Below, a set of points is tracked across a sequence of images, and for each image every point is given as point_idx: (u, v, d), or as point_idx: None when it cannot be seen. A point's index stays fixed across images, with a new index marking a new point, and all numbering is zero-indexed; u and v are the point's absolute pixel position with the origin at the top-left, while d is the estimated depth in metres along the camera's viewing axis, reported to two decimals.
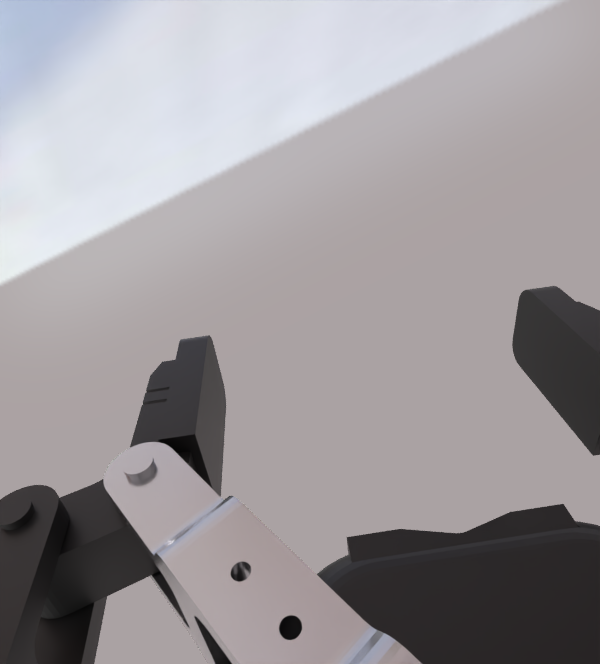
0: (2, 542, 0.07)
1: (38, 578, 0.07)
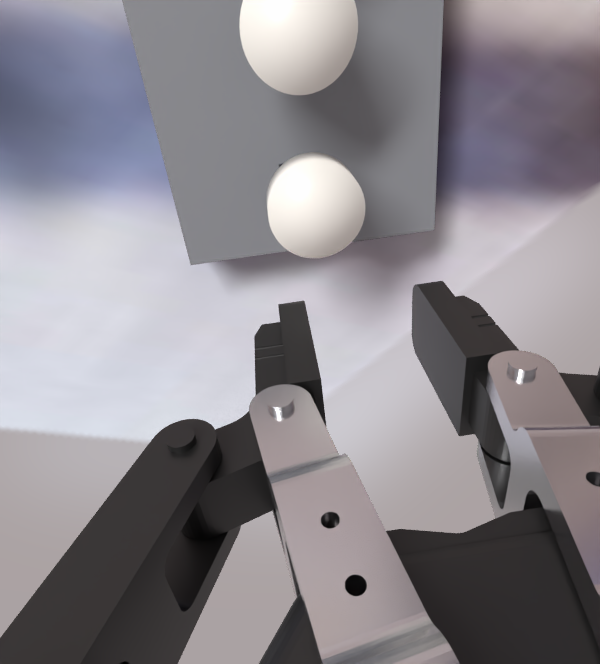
0: (176, 463, 0.08)
1: (183, 504, 0.07)
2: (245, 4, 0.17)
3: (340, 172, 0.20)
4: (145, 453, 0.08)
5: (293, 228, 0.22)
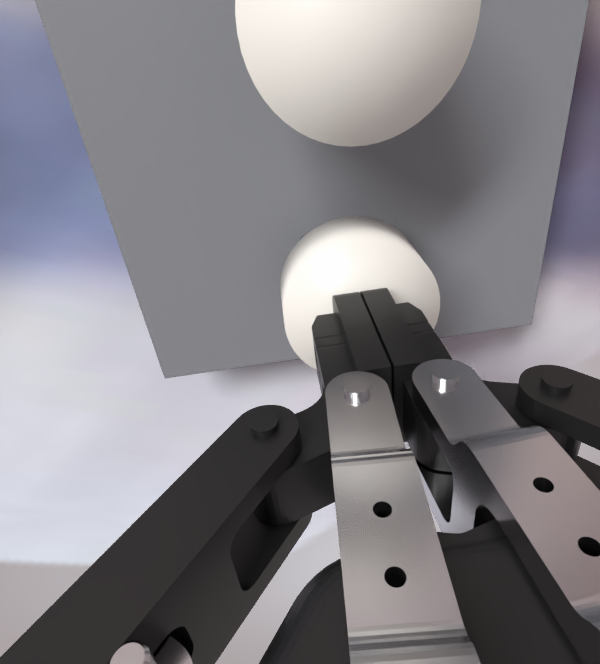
0: (262, 447, 0.08)
1: (256, 488, 0.07)
2: None
3: (404, 256, 0.12)
4: (228, 431, 0.09)
5: None
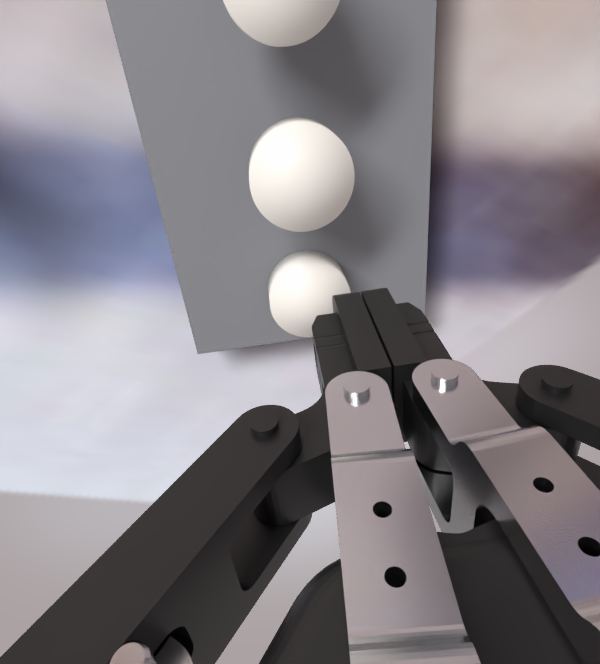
0: (262, 447, 0.08)
1: (256, 488, 0.07)
2: (254, 161, 0.19)
3: (330, 271, 0.25)
4: (228, 431, 0.09)
5: (291, 314, 0.26)
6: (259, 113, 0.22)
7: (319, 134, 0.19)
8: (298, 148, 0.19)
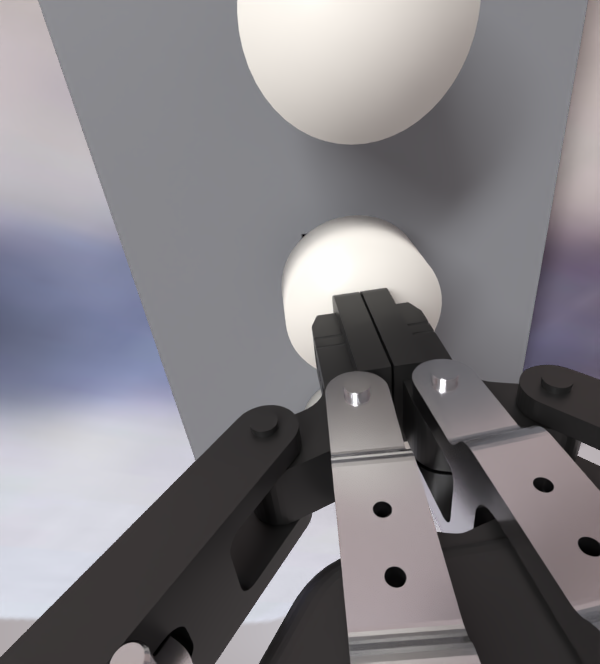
0: (262, 447, 0.08)
1: (256, 488, 0.07)
2: (295, 294, 0.13)
3: None
4: (228, 431, 0.09)
5: None
6: (296, 206, 0.15)
7: (394, 255, 0.12)
8: (360, 275, 0.13)
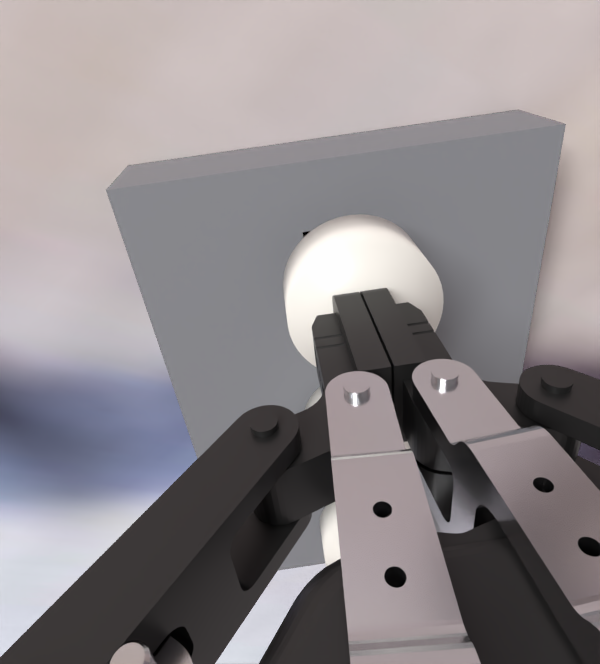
0: (262, 447, 0.08)
1: (256, 488, 0.07)
2: None
3: None
4: (228, 431, 0.09)
5: None
6: None
7: None
8: None
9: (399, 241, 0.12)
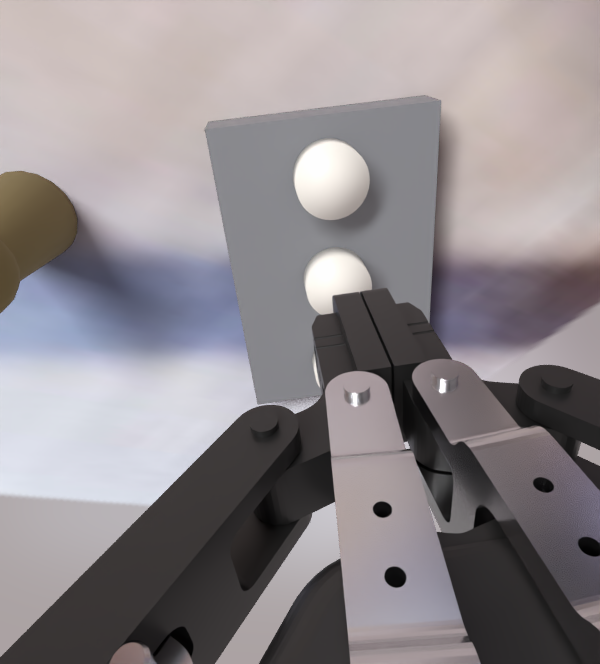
0: (262, 447, 0.08)
1: (256, 488, 0.07)
2: (310, 280, 0.31)
3: None
4: (228, 431, 0.09)
5: None
6: (313, 249, 0.32)
7: (351, 264, 0.31)
8: (337, 272, 0.31)
9: (347, 146, 0.27)
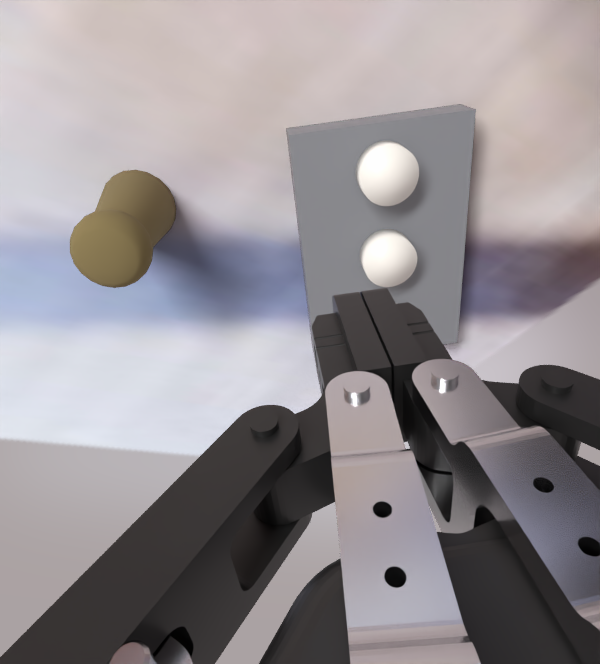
0: (262, 447, 0.08)
1: (256, 489, 0.07)
2: (368, 255, 0.38)
3: None
4: (229, 431, 0.09)
5: None
6: (368, 230, 0.40)
7: (401, 242, 0.38)
8: (390, 248, 0.38)
9: (402, 147, 0.34)
